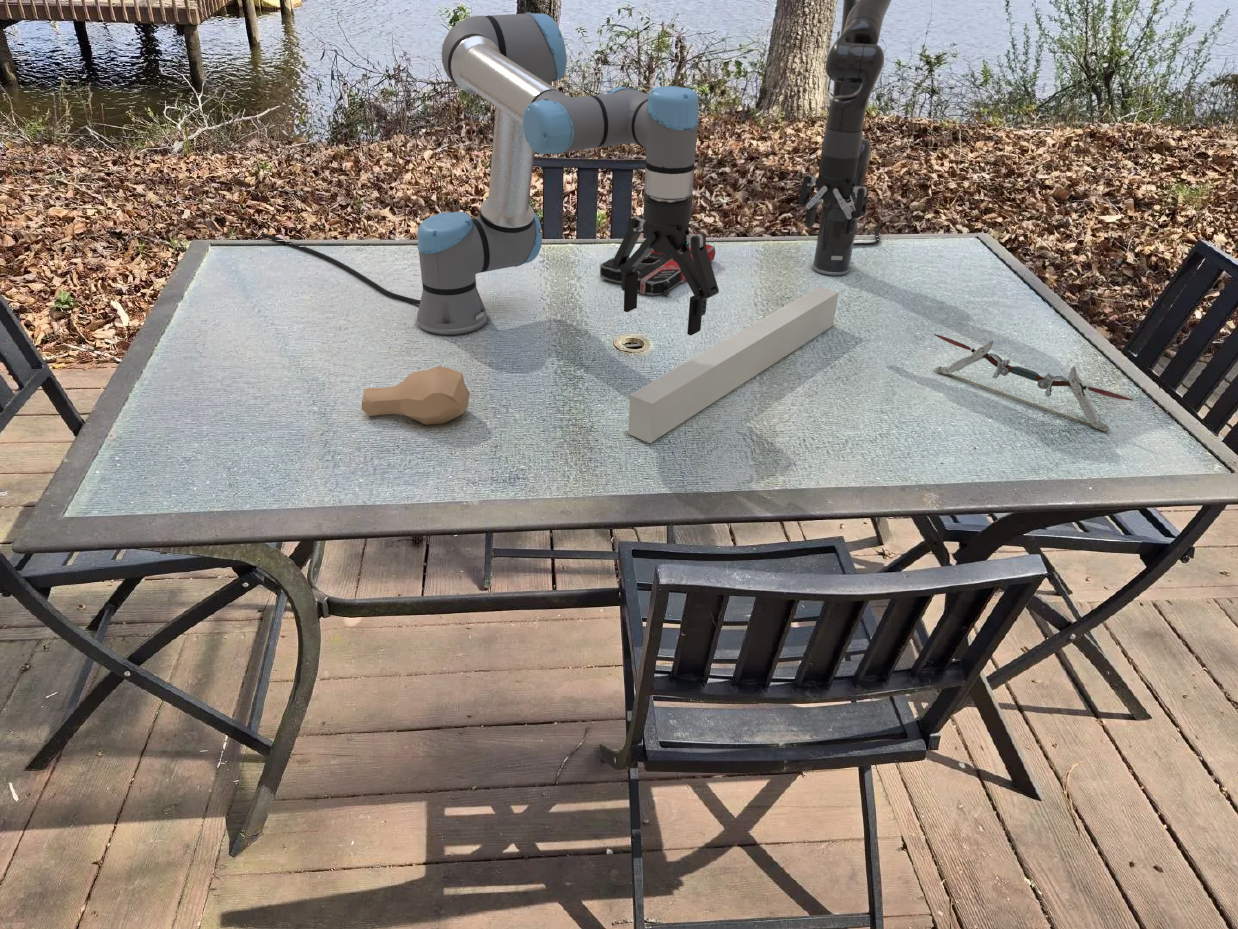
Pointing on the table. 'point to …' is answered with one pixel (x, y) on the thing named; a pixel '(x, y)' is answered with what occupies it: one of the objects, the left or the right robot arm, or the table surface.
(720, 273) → the table surface
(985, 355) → the bow
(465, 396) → the squash
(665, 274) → the gun
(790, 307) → the beam
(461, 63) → the left robot arm
